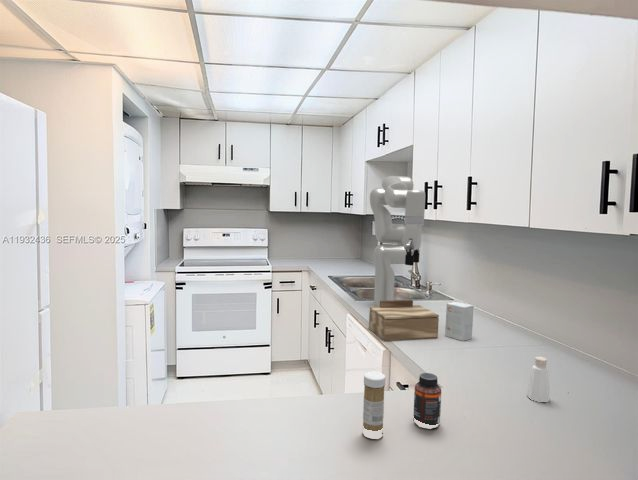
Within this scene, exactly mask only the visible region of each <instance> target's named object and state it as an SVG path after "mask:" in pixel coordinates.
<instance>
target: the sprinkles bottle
mask: <svg viewBox="0 0 638 480" xmlns="http://www.w3.org/2000/svg"><path fill="white" fill-rule="evenodd" d="M363 385H364V386H363V387H364V391H363V407H362V408H363V412H362V420H363V421H362V427H363V426H364V428H365V429H367V430H372V431H378V430H381V429H382V428H383V429H384V413H385V411H384V410H385V406H384V405H385V385H386V375H385V374H384V373H382V372H379V371H368V372H366V373H364V375H363Z"/></svg>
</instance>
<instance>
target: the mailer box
mask: <svg viewBox="0 0 638 480" xmlns="http://www.w3.org/2000/svg"><path fill="white" fill-rule="evenodd" d="M368 318H369V319H368V329H369V330H370V331H371V332H372V333H374V335H376V336H377V337H379V338H380V339H381V340H382V341H383V342H392V341H393V342H394V341H395V342H396V341H397V342H398V341H412V340H413V341H414V340H415V341H416V340H429V339H431V340H432V339H438V338H439V337H438V336H439V321H440V319H439V317H428V318H405V319H384V318H383V317H381V316H380V315H378V314H377V313H375V312H374V311H372V310H371V309H370V308H369V317H368Z"/></svg>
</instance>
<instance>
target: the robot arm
mask: <svg viewBox="0 0 638 480" xmlns="http://www.w3.org/2000/svg"><path fill="white" fill-rule="evenodd" d="M369 203H370V209H371V211H372V215H373V217H374V229H375V238H376V240H377V242H379V243H382V244H378V245H377V246H376V247H375V248H374V250H373V257H374V268H375V269H374V293H373V294H374V296H373V303H371V304H370V307H380V301H395V298H394V297H395V271H394V269H393V268H392V266H391V265H405V266H410V267H411V266H414V263H420V250H421V249H420V248H421V246H422V245H421V244H422V226H424V225H425V210H426V209H425V208H426V207H425V206H426V192H425V191H424V190H420V189H414V181H413V179H412V178H411V177H409V176H407V175H406V176H402V175H401V176H400V175H389V176H386V177H385V178H384V179H383V180H382V182H381V187H378V188H374V189H371V192H370V193H369ZM385 206H389V207H391V208H395V209H396V208H397V209H405V210H404V224H402V223H393V220H392V219H393V218H392V214H391V212H390V211H389V210H388V209H387V207H385ZM383 243H385V244H383ZM389 243H390V244H389Z"/></svg>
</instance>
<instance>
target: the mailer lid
mask: <svg viewBox="0 0 638 480" xmlns="http://www.w3.org/2000/svg"><path fill="white" fill-rule="evenodd" d="M370 309H371V310H372V311H374V312H375V313H377V314H378V315H380V316H381V317H383V318H384V319H405V318H428V317H438V318H439V317H440V315H439V314H438V313H436V312H434V311H432V310H430V309H427V308H426V307H424V306H421V305H418V304H416V305H414V301H413V300H412V299H406V300H405V299H403V300H402V299H401V300H398V299H396V300H395V299H394V301H380V307H371V306H369V310H370Z"/></svg>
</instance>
